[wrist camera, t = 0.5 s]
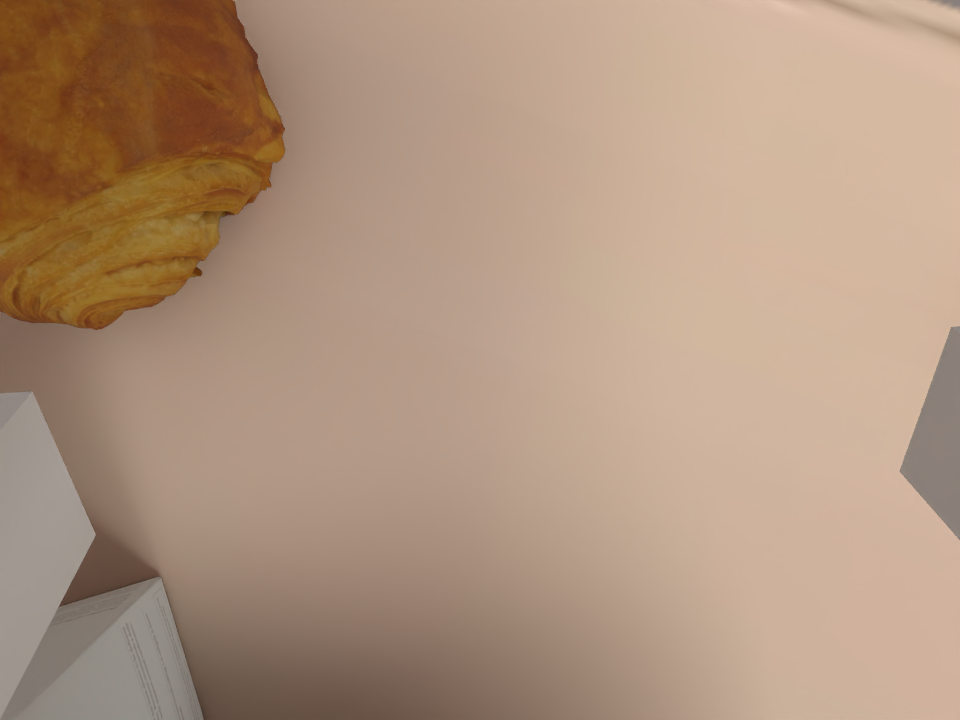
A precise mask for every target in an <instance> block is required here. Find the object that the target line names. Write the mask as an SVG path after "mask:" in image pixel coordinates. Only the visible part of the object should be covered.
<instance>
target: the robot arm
mask: <svg viewBox="0 0 960 720" xmlns="http://www.w3.org/2000/svg"><path fill="white" fill-rule="evenodd" d="M900 472H901V474H902V475H903V476H904V477H905V478H906V479H907V480H908V482H909V483H910V484H911V485H912V486H913V487H914V488H915V490H916V491H917V492H918V493H919V494H920V495H921V496H922V498H923V499H924V500H925V501H926V502H927V503H928V504H929V505H930V507H931V508H932V509H933V510H934V511H935V512H936V513H937V515H938V516H939V517H940V518H941V519H942V520H943V521H944V523H945V524H946V525H947V526H948V527H949V528H950V529H951V531H952V532H953V533H954V534H955V535H956V536H957V537H958V539H959V540H960V326H959V327H951V329H950V332H949V335H948V338H947V341H946V343H945V346H944V349H943V352H942V355H941V357H940V360H939V363H938V366H937V368H936V371H935V374H934V377H933V380H932V382H931V385H930V388H929V391H928V394H927V396H926V399H925V402H924V405H923V407H922V410H921V413H920V416H919V419H918V421H917V424H916V427H915V430H914V433H913V435H912V438H911V441H910V444H909V447H908V449H907V452H906V455H905V458H904V460H903V463H902V466H901V469H900ZM95 536H96V534H95V532H94V529H93V527H92V525H91V523H90V520H89V518H88V516H87V514H86V511H85V509H84V507H83V505H82V502H81V500H80V498H79V496H78V493H77V491H76V489H75V486H74V484H73V482H72V480H71V477H70V475H69V473H68V471H67V468H66V466H65V464H64V462H63V459H62V457H61V455H60V453H59V450H58V448H57V446H56V443H55V441H54V439H53V437H52V434H51V432H50V430H49V428H48V425H47V423H46V421H45V419H44V416H43V414H42V412H41V410H40V407H39V405H38V403H37V401H36V398H35V396H34V394H33V391H27V392H13V393H0V718H1V717H2V715H3V713H4V711H5V709H6V707H7V705H8V703H9V701H10V699H11V697H12V695H13V693H14V692H15V690H16V688H17V686H18V684H19V682H20V680H21V678H22V676H23V674H24V672H25V670H26V669H27V667H28V665H29V663H30V661H31V659H32V657H33V655H34V653H35V651H36V649H37V647H38V645H39V644H40V642H41V640H42V638H43V636H44V634H45V632H46V630H47V628H48V626H49V624H50V622H51V621H52V619H53V617H54V615H55V613H56V611H57V609H58V607H59V605H60V603H61V601H62V599H63V597H64V596H65V594H66V592H67V590H68V588H69V586H70V584H71V582H72V580H73V578H74V576H75V574H76V572H77V571H78V569H79V567H80V565H81V563H82V561H83V559H84V557H85V555H86V553H87V551H88V549H89V548H90V546H91V544H92V542H93V540H94V538H95Z"/></svg>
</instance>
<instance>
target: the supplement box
mask: <svg viewBox="0 0 960 720" xmlns="http://www.w3.org/2000/svg"><path fill="white" fill-rule="evenodd" d="M0 720H204V719H203V715H202V711H201V708H200V704H199V701H198V698H197V694H196V691H195V688H194V684H193V681H192V678H191V675H190V671H189V668H188V665H187V661H186V658H185V655H184V651H183V648H182V645H181V642H180V638H179V635H178V632H177V628H176V625H175V622H174V619H173V615H172V612H171V609H170V606H169V602H168V599H167V596H166V592H165V589H164V586H163V582H162V579H161V577H156V578H152V579H149V580H146V581H143V582H139V583H136V584H132V585H129V586H126V587H123V588H119V589H116V590H113V591H110V592H107V593H103V594H100V595H96V596H93V597H90V598H87V599H83V600H80V601H77V602H74V603H70V604H67V605H64V606H60V607H58V609H57V611H56V613H55V615H54V617H53V619H52V621H51V622H50V624H49V626H48V628H47V630H46V632H45V634H44V636H43V638H42V640H41V642H40V644H39V645H38V647H37V649H36V651H35V653H34V655H33V657H32V659H31V661H30V663H29V665H28V667H27V669H26V670H25V672H24V674H23V676H22V678H21V680H20V682H19V684H18V686H17V688H16V690H15V692H14V693H13V695H12V697H11V699H10V701H9V703H8V705H7V707H6V709H5V711H4V713H3V715H2V717H1V718H0Z"/></svg>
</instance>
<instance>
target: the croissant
mask: <svg viewBox="0 0 960 720" xmlns="http://www.w3.org/2000/svg"><path fill="white" fill-rule="evenodd" d="M257 57H258V55H257V53H256V52H255V51H254V50H253V48H252V47H251V45H250V43H249V42H248V40H247V39H246V37H245V29H244V27H243V25H242V24H241V22H240V21H239V19H238V18H237V12H236V7H235V2H234V1H233V0H0V312H4V313H6V314H7V315H9V316H11V317H13V318H15V319H18V320H21V321H26V322H31V323H61V324H68V325H72V326H75V327H78V328H92V329H96V330H98V329H103V328H104V327H106V326H108V325H109V324H111V323H113V322H114V321H115V320H116V319H117V318H119V317H120V316H121V315H122V314H123V312H124V311H126V310H134V309H139V308H144V307H152V306H154V305H156V304H158V303H159V302H161V301H162V300H164V299H165V297H166V296H170V295H174V294H175V293H176V292H177V291H178V290H179V289H180V288H181V287H182V286H183V285H184V284H185V283H186V281H187V279H188V278H190V277H195V276H201V275H202V272H201V270H200V269H198V268H197V267H196V266H197V264H198V262H199V260H201V261H204V260H205V259H206V257H207V256H208V254H209V253H210V251H211V250H212V249H213V248H214V247H216V245H217V244H218V242H219V239H220V235H219V230H218V228H219V220H220V216H221V217H224V216H226V215H235V214H239V212H240V211H241V210H242V209H243V207H244V206H245V205H247V204H248V203H252V202H254V200H255V198H256V196H257V195H258V193H259V192H260V191H261V190H266V189H267V188H266V186H267V187H270V188H271V183H270V181H269V177H270V174H271V168H272V163H273V162H278V161H280V160H281V158H282V157H283V156H284V153H285V147H284V143H283V139H282V135H283V132H284V130H285V128H284V127H283V124H282V121H281V117H280V115H279V113H278V111H277V109H276V107H275V105H274V103H273V101H272V100H271V98H270V96H269V94H268V91H267V88H266V86H265V83H264V80H263V78H262V75H261V73H260V71H259V69H258V64H257Z"/></svg>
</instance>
